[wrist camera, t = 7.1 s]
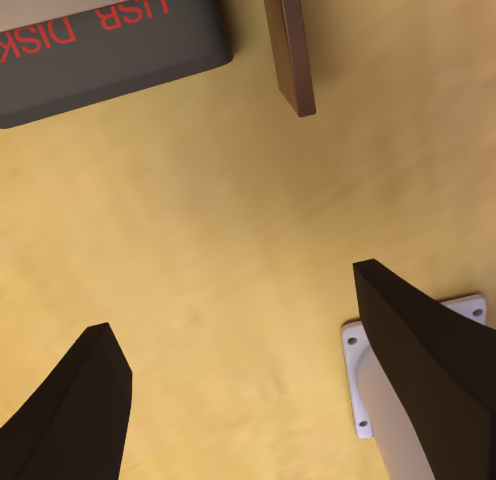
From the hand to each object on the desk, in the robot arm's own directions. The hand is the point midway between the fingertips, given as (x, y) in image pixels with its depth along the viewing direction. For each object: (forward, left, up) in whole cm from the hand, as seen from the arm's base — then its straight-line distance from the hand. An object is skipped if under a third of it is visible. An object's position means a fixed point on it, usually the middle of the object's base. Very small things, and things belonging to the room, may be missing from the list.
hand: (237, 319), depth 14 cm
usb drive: (+8, +4, -9) cm, 13 cm away
